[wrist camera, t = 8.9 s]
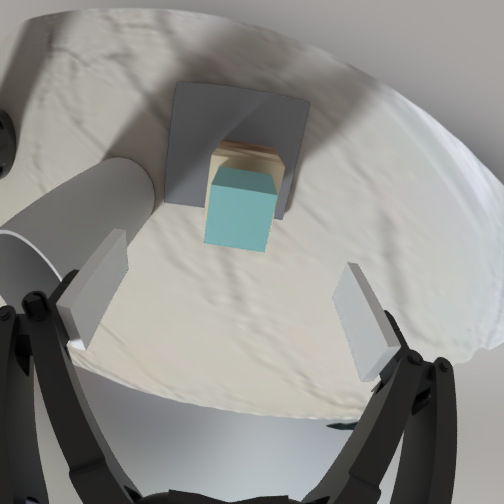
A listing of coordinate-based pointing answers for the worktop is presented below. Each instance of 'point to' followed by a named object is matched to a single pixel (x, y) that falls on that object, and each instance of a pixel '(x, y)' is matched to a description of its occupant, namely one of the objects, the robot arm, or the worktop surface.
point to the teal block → (240, 209)
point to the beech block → (245, 167)
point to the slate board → (228, 135)
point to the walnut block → (248, 146)
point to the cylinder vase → (71, 227)
